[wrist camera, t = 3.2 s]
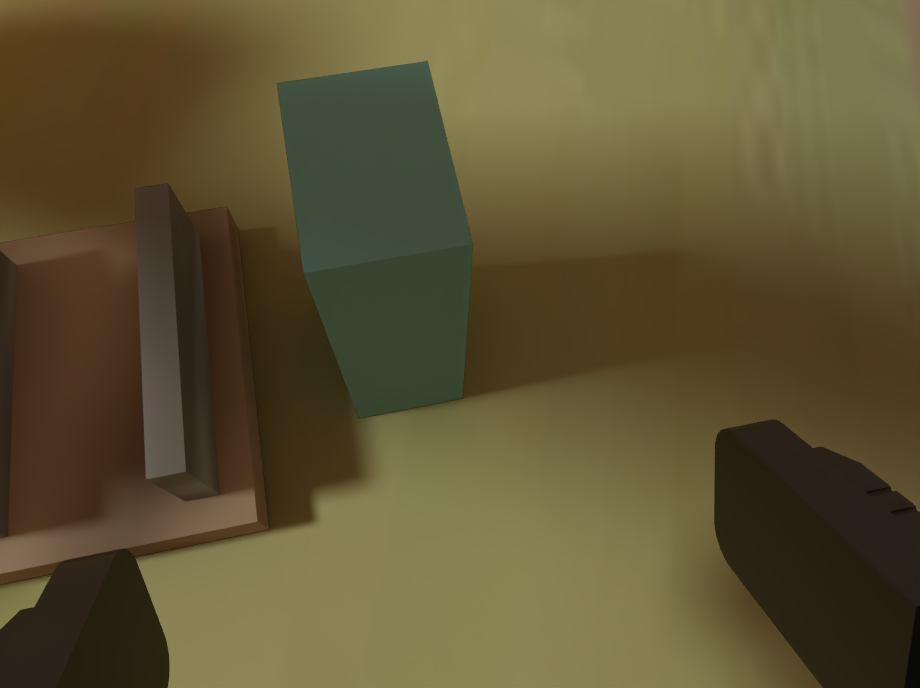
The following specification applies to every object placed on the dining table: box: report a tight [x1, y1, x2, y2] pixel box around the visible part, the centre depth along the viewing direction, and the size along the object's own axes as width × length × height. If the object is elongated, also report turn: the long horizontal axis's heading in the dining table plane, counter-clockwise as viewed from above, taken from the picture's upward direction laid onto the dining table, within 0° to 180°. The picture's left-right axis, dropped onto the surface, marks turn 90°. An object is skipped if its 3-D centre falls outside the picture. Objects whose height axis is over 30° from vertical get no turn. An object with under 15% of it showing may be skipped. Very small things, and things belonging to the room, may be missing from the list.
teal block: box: [277, 61, 473, 418], centre depth 20 cm, size 4×5×10 cm
